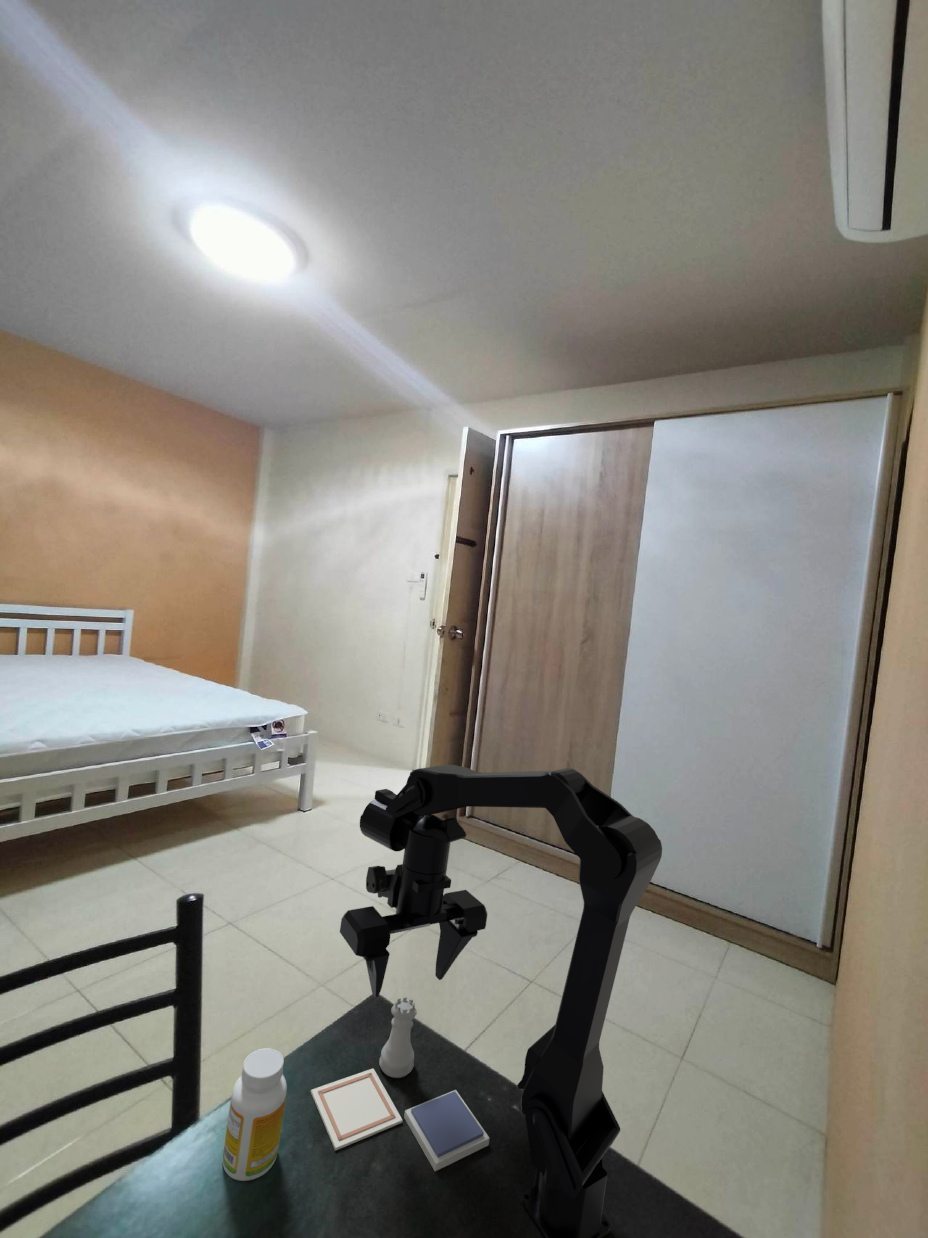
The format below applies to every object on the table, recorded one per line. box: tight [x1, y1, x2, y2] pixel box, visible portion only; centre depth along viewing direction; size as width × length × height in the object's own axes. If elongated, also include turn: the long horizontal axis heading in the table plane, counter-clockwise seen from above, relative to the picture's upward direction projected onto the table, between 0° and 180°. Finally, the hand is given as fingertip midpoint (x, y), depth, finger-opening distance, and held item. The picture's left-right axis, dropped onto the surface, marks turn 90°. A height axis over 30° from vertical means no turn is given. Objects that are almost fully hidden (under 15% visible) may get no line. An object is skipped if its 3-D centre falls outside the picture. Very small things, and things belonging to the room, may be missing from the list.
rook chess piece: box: [378, 996, 417, 1079], centre depth 72 cm, size 4×4×8 cm
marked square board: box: [310, 1068, 403, 1152], centre depth 65 cm, size 8×8×1 cm
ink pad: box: [403, 1089, 490, 1172], centre depth 63 cm, size 7×7×1 cm
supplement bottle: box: [222, 1047, 288, 1182], centre depth 57 cm, size 5×5×10 cm
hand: (407, 986), depth 72 cm, fingers open, 9 cm apart
